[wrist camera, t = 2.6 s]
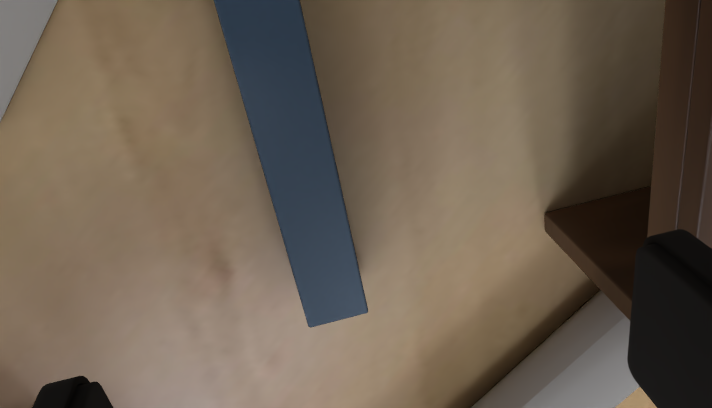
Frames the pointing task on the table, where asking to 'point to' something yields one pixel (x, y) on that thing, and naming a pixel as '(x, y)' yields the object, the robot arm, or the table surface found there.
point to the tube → (573, 364)
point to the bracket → (19, 40)
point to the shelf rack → (655, 166)
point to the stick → (295, 152)
